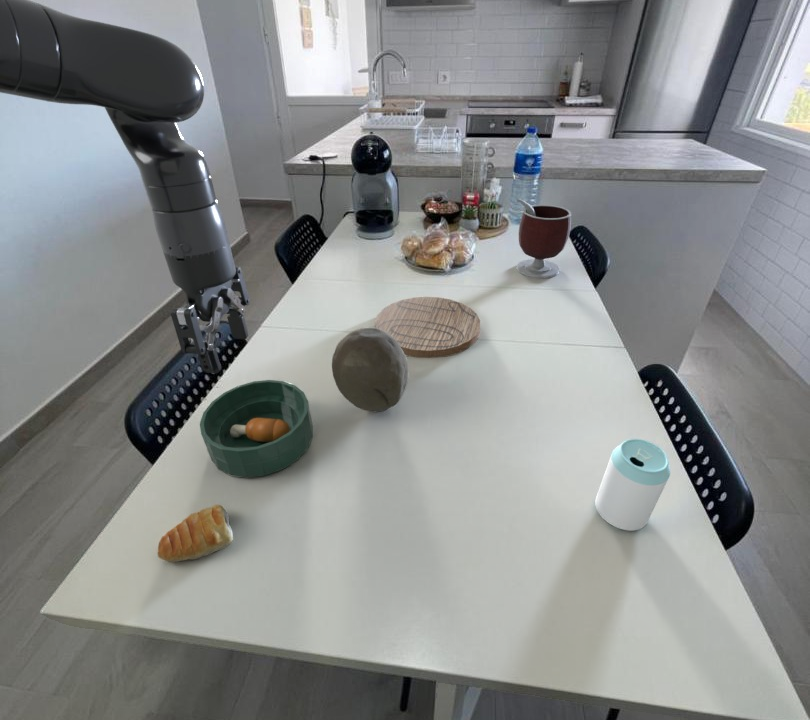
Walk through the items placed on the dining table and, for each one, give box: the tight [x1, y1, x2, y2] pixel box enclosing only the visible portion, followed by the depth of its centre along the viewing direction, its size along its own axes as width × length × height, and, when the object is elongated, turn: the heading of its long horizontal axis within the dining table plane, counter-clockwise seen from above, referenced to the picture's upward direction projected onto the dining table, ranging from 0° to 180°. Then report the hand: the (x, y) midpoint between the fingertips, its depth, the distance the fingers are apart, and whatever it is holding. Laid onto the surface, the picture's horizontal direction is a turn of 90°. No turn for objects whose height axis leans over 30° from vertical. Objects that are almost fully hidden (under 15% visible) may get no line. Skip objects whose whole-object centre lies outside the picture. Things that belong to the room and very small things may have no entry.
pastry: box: [157, 504, 234, 563], centre depth 61 cm, size 9×7×4 cm
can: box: [594, 438, 671, 532], centre depth 61 cm, size 7×7×12 cm
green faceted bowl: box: [199, 379, 314, 479], centre depth 76 cm, size 17×17×6 cm
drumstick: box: [230, 418, 290, 442], centre depth 76 cm, size 11×4×4 cm, turn 82°
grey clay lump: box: [331, 327, 409, 413], centre depth 81 cm, size 14×14×15 cm
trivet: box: [374, 296, 481, 359], centre depth 106 cm, size 25×25×2 cm
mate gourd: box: [516, 197, 572, 279], centre depth 128 cm, size 16×14×20 cm
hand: (227, 353), depth 63 cm, fingers open, 8 cm apart
